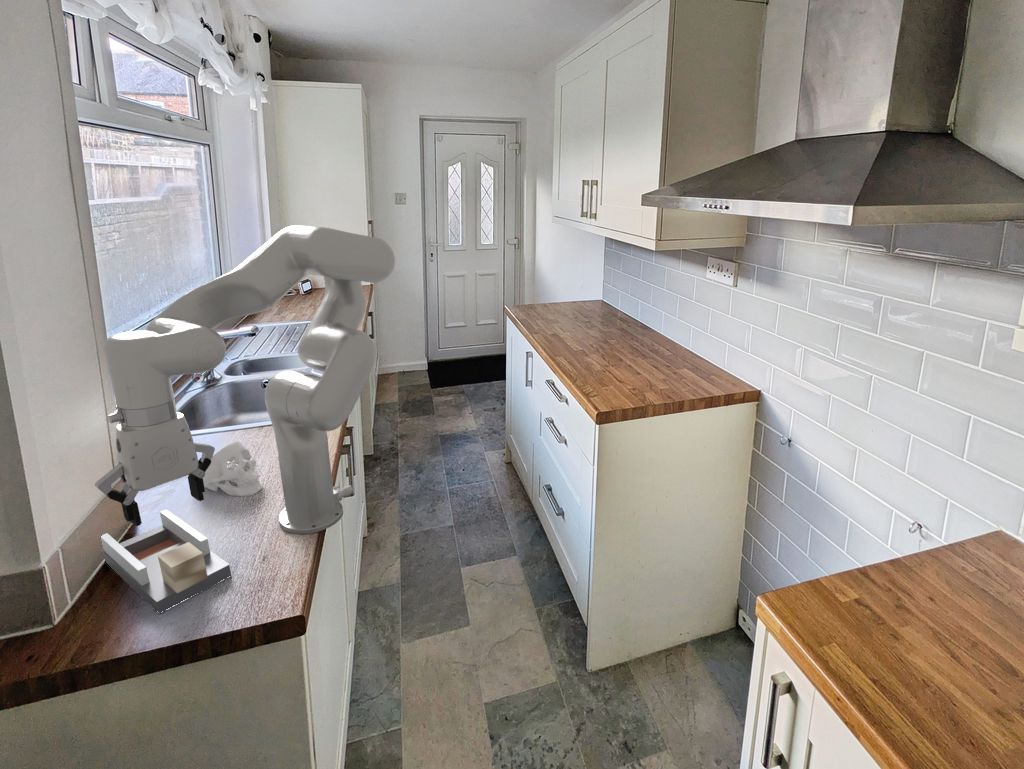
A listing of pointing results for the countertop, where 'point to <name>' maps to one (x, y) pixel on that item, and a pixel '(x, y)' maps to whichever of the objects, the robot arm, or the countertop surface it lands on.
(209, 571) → the gray tray
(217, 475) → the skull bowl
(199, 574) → the block
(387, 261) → the robot arm
